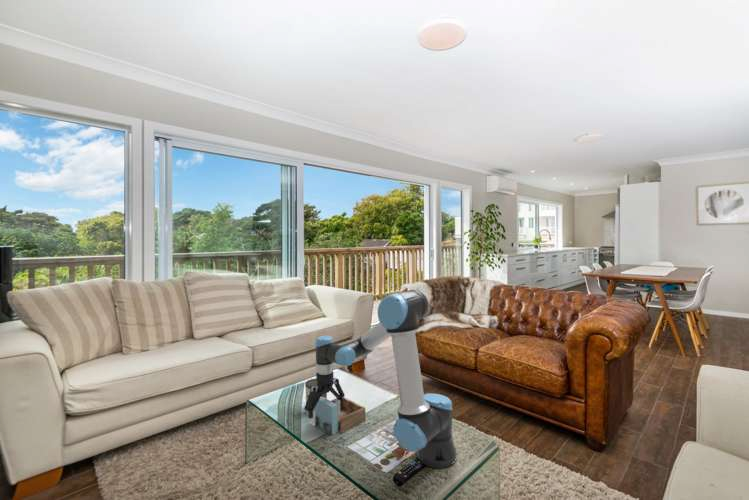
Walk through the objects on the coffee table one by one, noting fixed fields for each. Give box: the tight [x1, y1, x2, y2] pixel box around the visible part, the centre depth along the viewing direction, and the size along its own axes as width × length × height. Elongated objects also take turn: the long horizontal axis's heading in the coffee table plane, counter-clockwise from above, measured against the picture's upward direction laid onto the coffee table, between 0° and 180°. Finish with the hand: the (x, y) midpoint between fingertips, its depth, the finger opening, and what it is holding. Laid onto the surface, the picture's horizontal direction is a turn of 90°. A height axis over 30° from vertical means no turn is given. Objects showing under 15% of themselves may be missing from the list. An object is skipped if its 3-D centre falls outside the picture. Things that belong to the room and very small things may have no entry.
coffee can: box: [304, 378, 328, 416], centre depth 176 cm, size 10×10×14 cm
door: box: [314, 396, 339, 436], centre depth 161 cm, size 14×3×12 cm, turn 44°
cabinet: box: [311, 396, 366, 436], centre depth 165 cm, size 17×20×6 cm
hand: (325, 419), depth 161 cm, fingers open, 13 cm apart
